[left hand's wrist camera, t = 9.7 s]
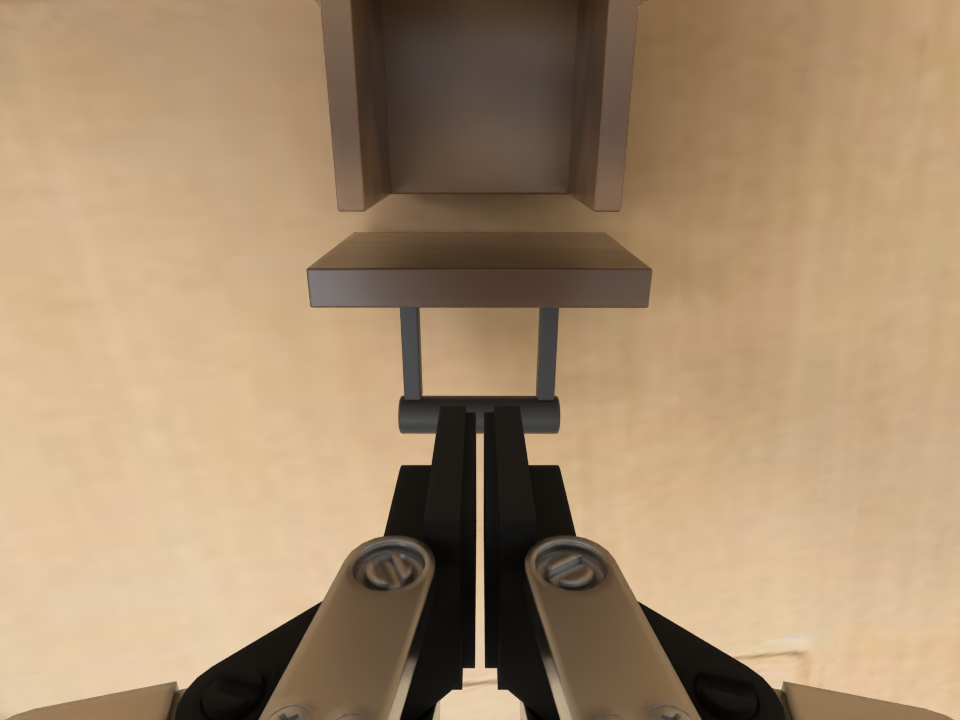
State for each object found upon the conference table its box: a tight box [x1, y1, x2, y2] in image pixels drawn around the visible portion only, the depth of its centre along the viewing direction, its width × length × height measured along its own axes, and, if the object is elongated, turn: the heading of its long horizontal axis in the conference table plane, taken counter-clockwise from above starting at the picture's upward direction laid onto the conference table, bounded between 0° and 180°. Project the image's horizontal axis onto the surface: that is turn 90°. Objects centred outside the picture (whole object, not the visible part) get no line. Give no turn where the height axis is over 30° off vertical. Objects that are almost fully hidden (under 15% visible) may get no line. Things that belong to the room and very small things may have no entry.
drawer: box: [307, 0, 652, 434], centre depth 18 cm, size 25×10×7 cm, turn 0°
